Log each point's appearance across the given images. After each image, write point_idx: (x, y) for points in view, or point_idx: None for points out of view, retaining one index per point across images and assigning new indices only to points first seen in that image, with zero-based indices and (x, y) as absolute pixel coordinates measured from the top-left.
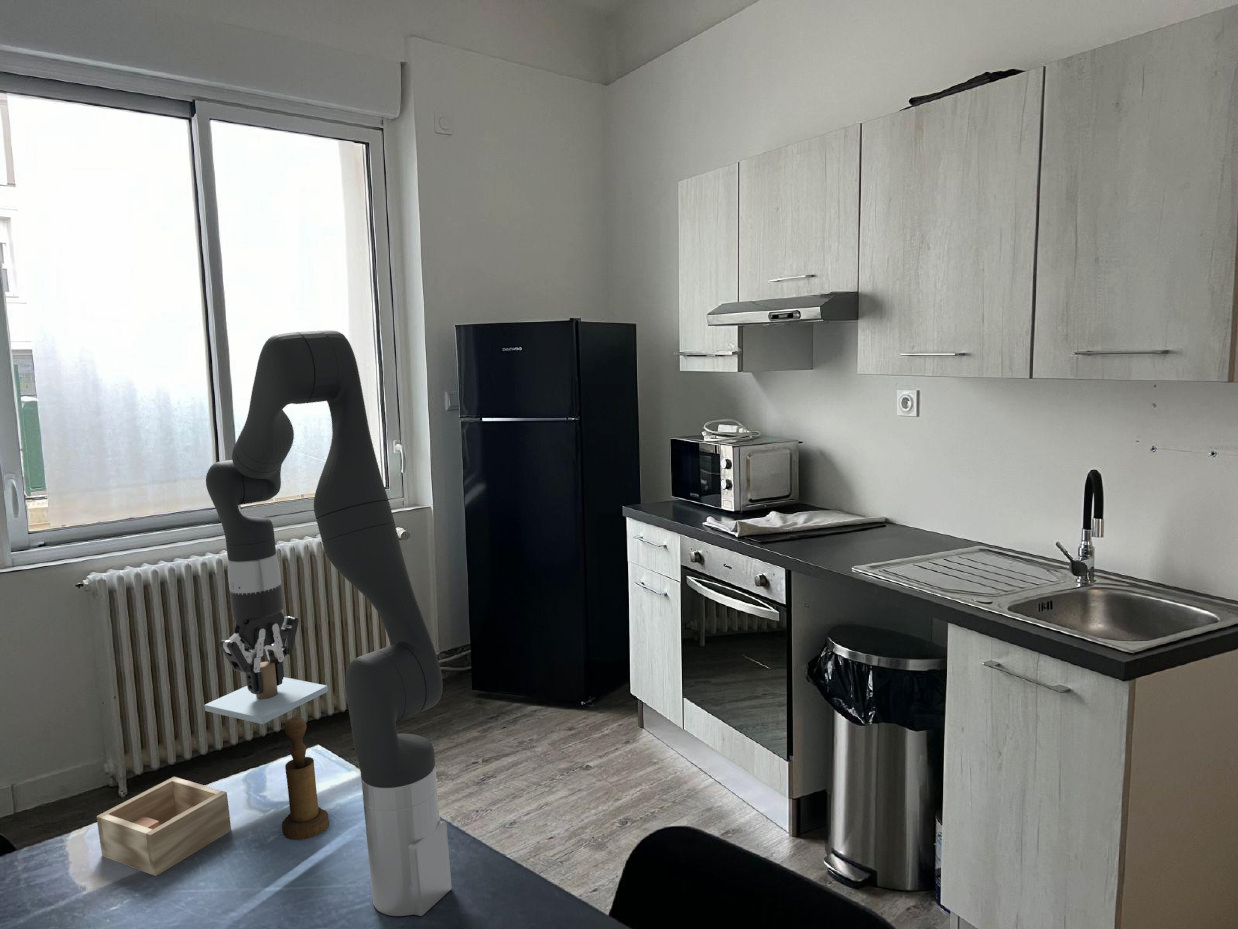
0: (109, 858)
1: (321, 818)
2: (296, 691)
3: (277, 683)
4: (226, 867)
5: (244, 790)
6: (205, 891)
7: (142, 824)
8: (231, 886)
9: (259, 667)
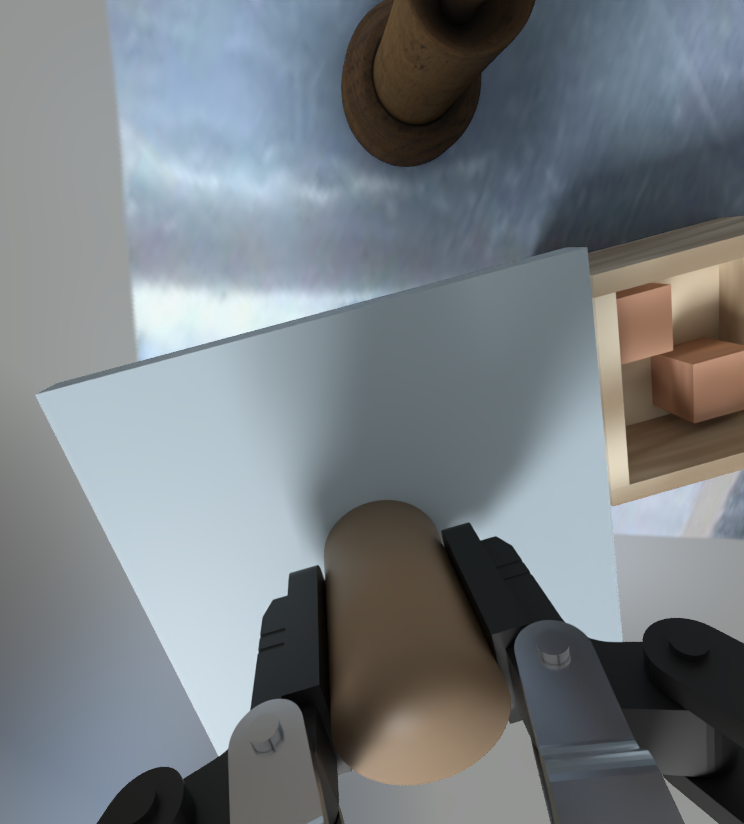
0: None
1: (389, 7)
2: (239, 470)
3: (320, 580)
4: (610, 132)
5: None
6: (694, 67)
7: (720, 382)
8: (653, 24)
9: (526, 658)
